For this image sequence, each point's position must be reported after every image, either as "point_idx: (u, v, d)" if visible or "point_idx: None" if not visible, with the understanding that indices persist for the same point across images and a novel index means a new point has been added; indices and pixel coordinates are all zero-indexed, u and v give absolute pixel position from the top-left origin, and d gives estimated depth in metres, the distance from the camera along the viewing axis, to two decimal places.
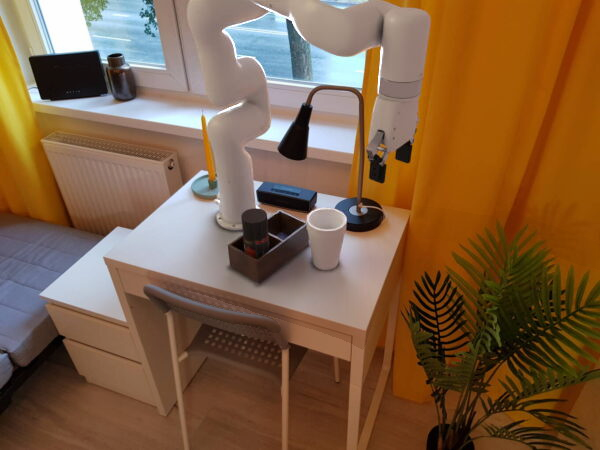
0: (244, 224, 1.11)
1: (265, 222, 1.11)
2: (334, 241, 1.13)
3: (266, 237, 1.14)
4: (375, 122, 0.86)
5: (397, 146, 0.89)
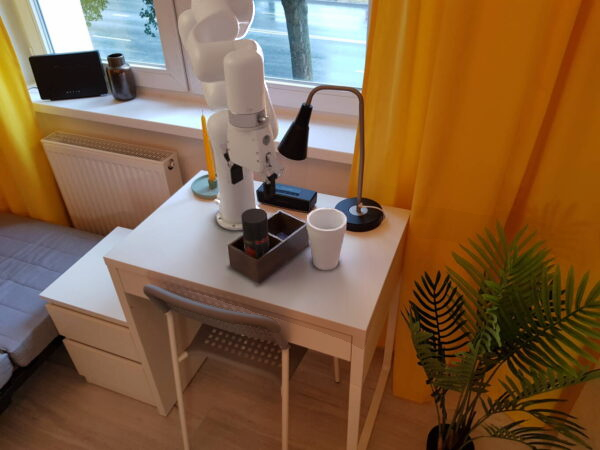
0: (244, 224, 1.11)
1: (265, 222, 1.11)
2: (334, 241, 1.13)
3: (266, 237, 1.14)
4: None
5: (236, 162, 1.03)
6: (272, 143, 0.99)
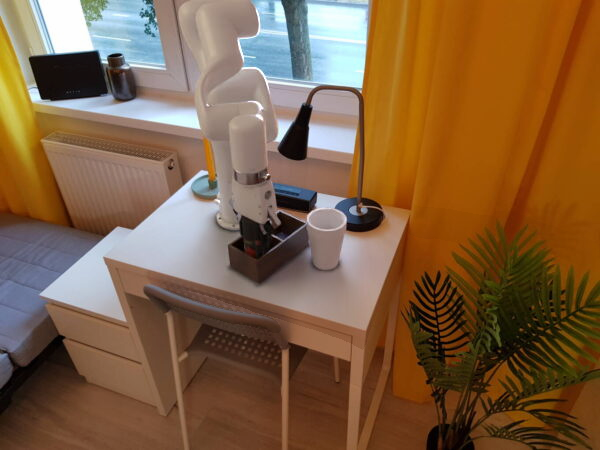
0: (244, 224, 1.11)
1: None
2: (334, 241, 1.13)
3: None
4: None
5: (240, 212, 1.11)
6: (273, 197, 1.07)
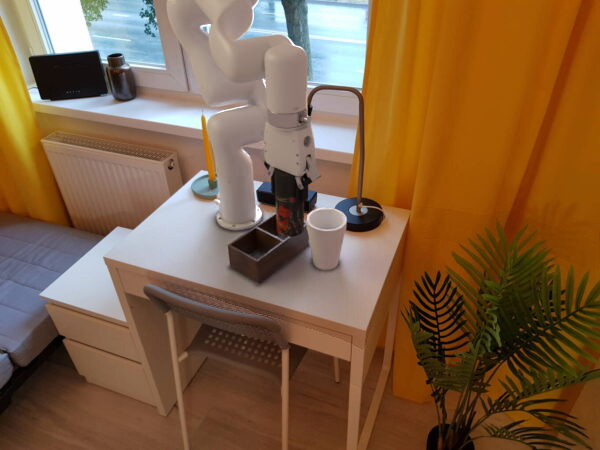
0: (278, 178, 0.97)
1: (301, 176, 0.98)
2: (334, 241, 1.13)
3: None
4: None
5: (273, 164, 0.97)
6: (313, 144, 0.93)
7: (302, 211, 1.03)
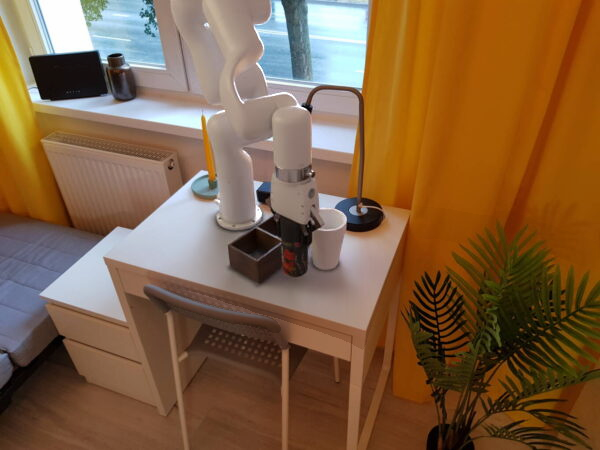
0: (284, 225, 1.03)
1: None
2: (334, 241, 1.13)
3: None
4: None
5: (279, 212, 1.04)
6: (316, 195, 0.99)
7: (306, 254, 1.09)
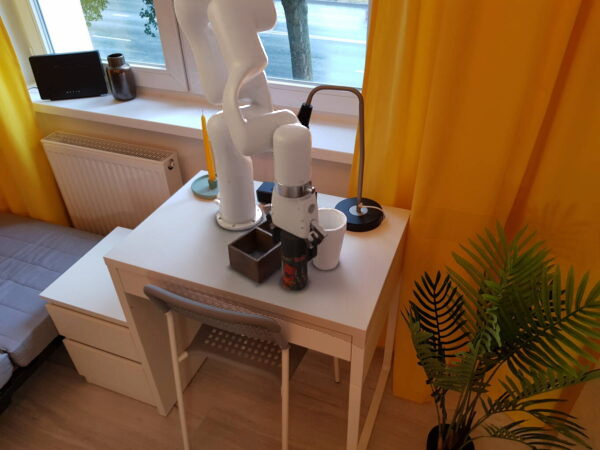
0: (284, 240, 1.06)
1: None
2: (334, 241, 1.13)
3: None
4: None
5: (280, 225, 1.06)
6: (316, 210, 1.01)
7: (306, 268, 1.12)
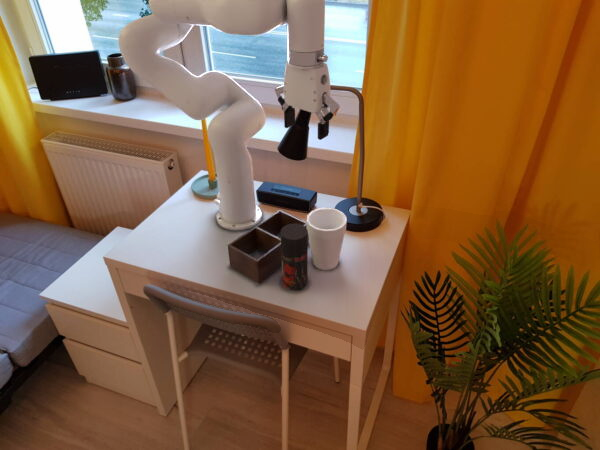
0: (284, 240, 1.06)
1: (306, 238, 1.06)
2: (334, 241, 1.13)
3: (306, 254, 1.09)
4: None
5: (292, 103, 1.08)
6: (328, 83, 1.03)
7: (306, 268, 1.12)
